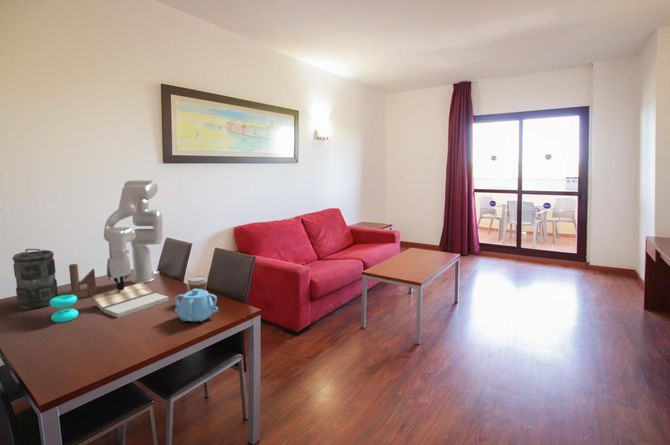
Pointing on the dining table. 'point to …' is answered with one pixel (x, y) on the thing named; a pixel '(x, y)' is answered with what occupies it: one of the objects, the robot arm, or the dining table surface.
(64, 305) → the donuts
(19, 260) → the canister
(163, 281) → the dining table surface
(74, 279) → the wooden block
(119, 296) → the plank
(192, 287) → the glass of beer
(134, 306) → the board
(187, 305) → the decorative pot
